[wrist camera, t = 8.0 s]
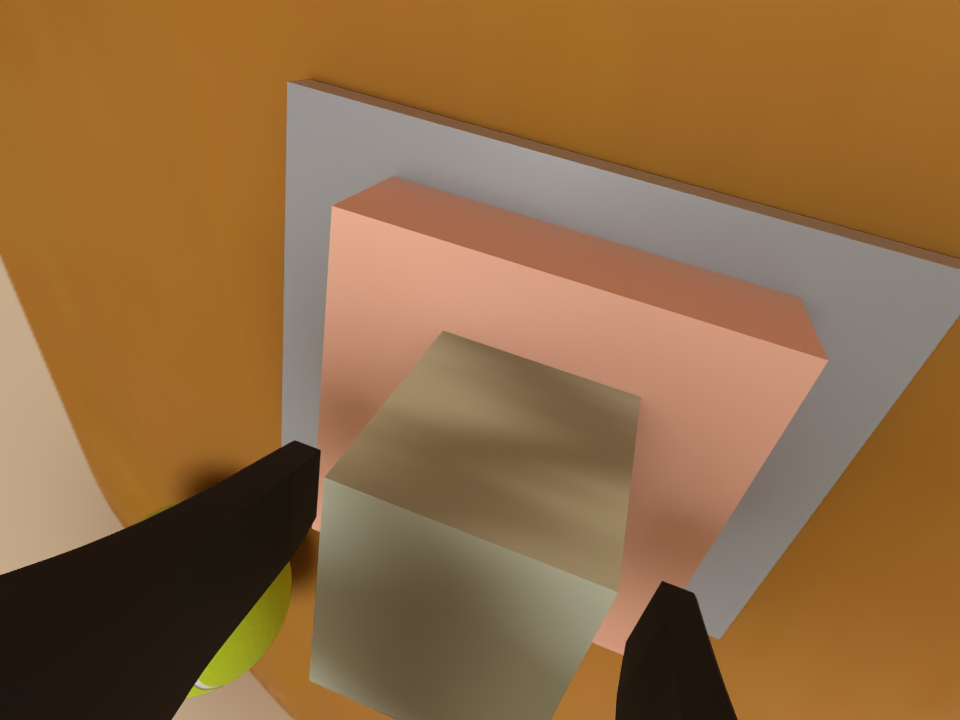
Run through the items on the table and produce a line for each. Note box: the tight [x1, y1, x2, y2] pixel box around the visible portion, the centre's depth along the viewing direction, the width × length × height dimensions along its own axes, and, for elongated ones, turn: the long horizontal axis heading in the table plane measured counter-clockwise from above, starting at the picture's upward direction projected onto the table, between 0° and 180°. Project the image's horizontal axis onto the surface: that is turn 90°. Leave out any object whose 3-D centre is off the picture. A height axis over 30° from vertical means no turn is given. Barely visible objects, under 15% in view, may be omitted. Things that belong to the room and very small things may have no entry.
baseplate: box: [281, 79, 960, 639], centre depth 17 cm, size 16×13×1 cm
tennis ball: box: [133, 502, 292, 697], centre depth 22 cm, size 7×7×7 cm
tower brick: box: [312, 176, 829, 655], centre depth 15 cm, size 10×10×3 cm
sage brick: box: [309, 331, 641, 720], centre depth 12 cm, size 4×6×5 cm
